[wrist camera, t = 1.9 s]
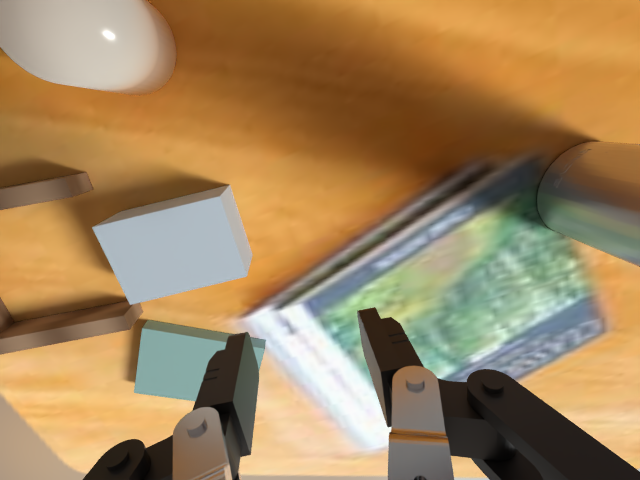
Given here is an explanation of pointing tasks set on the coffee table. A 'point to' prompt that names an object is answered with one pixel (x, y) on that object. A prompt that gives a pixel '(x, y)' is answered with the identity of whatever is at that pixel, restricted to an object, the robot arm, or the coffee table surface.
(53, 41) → the white capsule shape
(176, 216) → the carton
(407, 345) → the robot arm
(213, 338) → the green flat block
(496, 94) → the coffee table surface
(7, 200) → the display bay
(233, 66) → the coffee table surface
